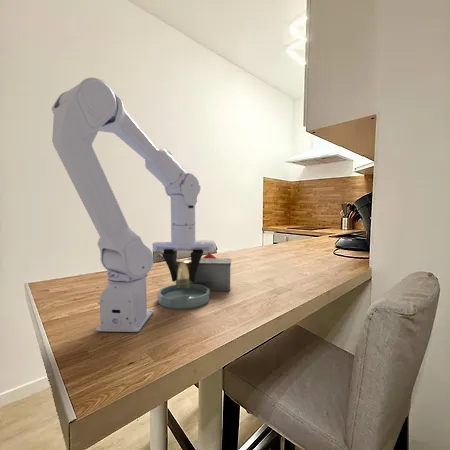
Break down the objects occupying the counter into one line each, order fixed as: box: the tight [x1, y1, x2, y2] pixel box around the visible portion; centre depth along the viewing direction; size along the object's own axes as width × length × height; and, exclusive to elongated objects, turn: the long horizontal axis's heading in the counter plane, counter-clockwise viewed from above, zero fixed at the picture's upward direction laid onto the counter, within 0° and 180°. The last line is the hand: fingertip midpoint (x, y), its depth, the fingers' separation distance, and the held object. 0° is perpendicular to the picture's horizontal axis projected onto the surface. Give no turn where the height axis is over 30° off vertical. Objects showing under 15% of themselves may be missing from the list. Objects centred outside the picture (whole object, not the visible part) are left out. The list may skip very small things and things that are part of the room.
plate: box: [156, 284, 211, 310], centre depth 67 cm, size 12×12×2 cm
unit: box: [186, 257, 232, 292], centre depth 76 cm, size 6×12×8 cm, turn 88°
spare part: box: [175, 259, 193, 289], centre depth 67 cm, size 4×4×6 cm
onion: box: [202, 251, 216, 258], centre depth 88 cm, size 6×6×8 cm
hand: (184, 280), depth 67 cm, fingers closed on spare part, 4 cm apart
